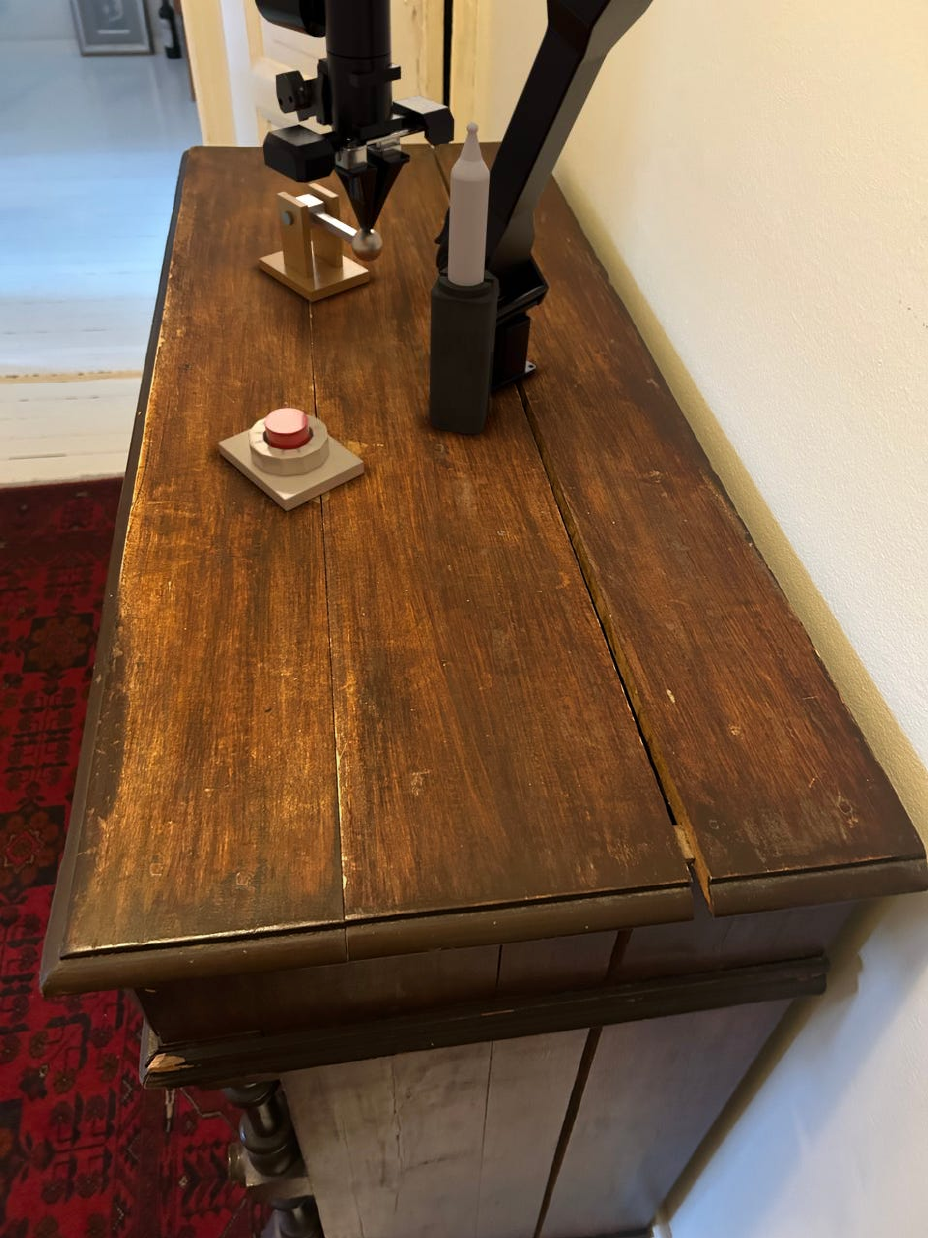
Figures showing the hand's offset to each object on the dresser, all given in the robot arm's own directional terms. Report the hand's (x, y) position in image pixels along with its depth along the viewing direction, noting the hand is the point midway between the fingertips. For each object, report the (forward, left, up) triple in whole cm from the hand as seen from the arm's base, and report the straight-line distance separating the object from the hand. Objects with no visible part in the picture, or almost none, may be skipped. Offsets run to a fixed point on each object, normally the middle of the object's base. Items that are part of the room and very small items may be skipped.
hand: (366, 229), depth 87 cm
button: (-17, +22, -6) cm, 28 cm away
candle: (-21, +6, -9) cm, 24 cm away
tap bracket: (+10, 0, -9) cm, 13 cm away
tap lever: (+5, 0, -3) cm, 6 cm away
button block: (-17, +22, -9) cm, 29 cm away
